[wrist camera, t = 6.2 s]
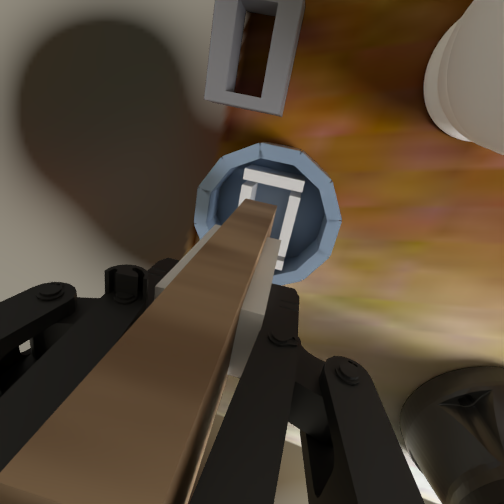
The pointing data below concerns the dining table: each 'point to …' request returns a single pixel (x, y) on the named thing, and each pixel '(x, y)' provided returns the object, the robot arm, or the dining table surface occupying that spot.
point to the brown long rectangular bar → (149, 388)
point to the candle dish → (276, 203)
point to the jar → (470, 77)
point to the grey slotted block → (228, 50)
